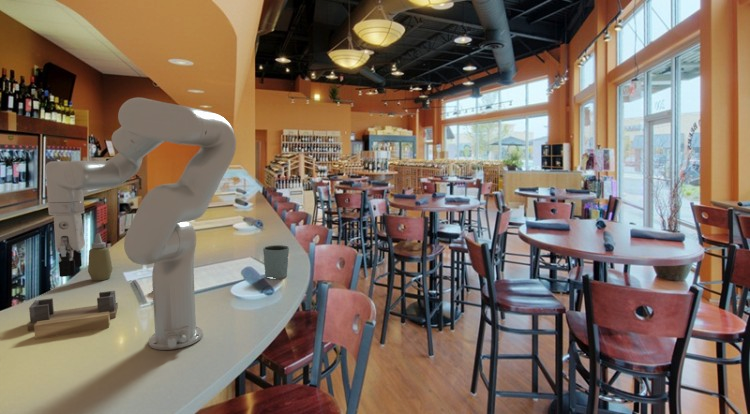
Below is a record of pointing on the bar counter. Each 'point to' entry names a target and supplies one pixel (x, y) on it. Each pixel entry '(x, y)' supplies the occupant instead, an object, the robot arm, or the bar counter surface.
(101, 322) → the oak slat
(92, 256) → the squeeze bottle
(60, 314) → the cradle board
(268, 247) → the grey green cup
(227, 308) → the bar counter surface
